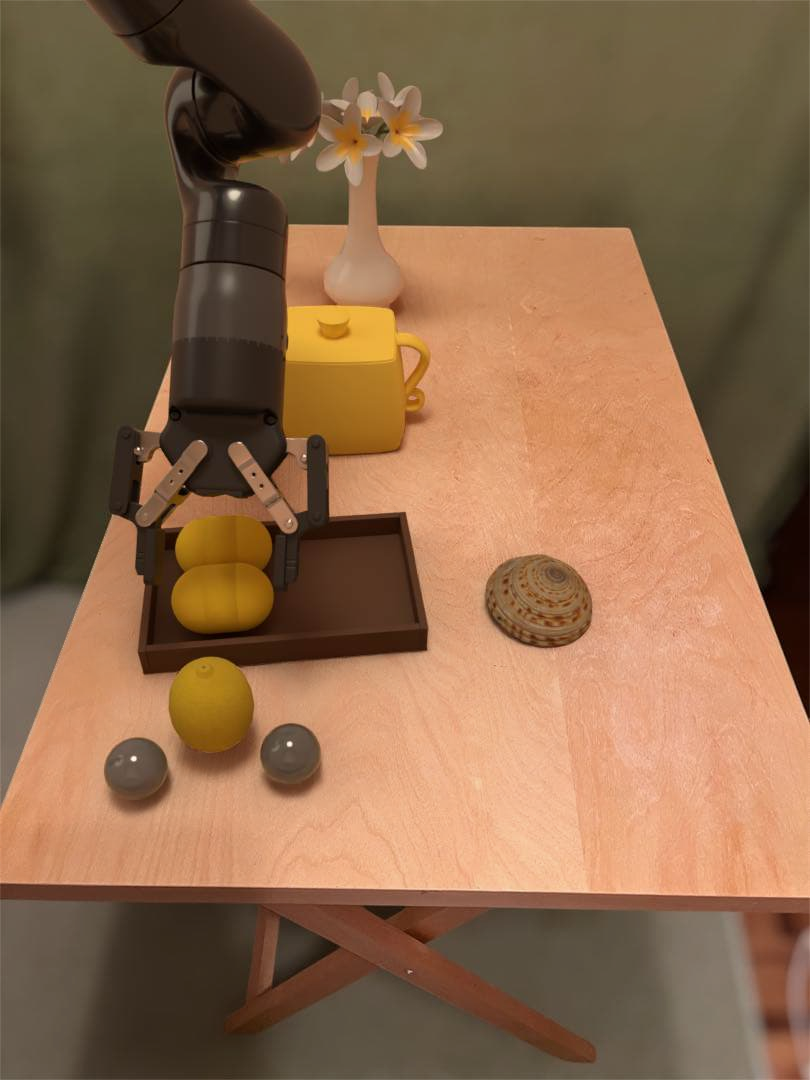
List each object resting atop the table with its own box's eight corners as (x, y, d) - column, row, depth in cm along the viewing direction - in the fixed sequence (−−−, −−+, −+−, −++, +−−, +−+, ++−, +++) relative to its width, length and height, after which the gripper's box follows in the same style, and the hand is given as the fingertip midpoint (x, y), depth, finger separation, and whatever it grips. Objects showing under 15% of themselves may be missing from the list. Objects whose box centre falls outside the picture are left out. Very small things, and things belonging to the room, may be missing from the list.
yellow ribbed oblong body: (175, 651, 68) (164, 604, 65) (178, 600, 72) (168, 553, 69) (277, 642, 69) (271, 595, 66) (275, 593, 73) (270, 546, 69)
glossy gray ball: (107, 815, 59) (94, 781, 56) (113, 762, 62) (101, 727, 59) (170, 808, 60) (160, 775, 57) (173, 756, 62) (164, 722, 60)
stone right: (263, 799, 60) (257, 765, 57) (262, 748, 63) (257, 713, 60) (323, 793, 61) (321, 759, 58) (320, 742, 63) (317, 708, 61)
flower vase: (297, 273, 113) (283, 53, 96) (443, 291, 111) (456, 68, 94) (265, 325, 104) (243, 92, 87) (423, 346, 102) (433, 110, 85)
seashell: (540, 532, 76) (606, 557, 70) (548, 591, 79) (613, 621, 72) (460, 568, 73) (523, 598, 66) (472, 629, 75) (533, 664, 69)
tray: (143, 674, 67) (137, 651, 66) (155, 551, 77) (150, 528, 75) (427, 650, 70) (428, 628, 68) (404, 533, 79) (405, 511, 77)
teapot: (219, 458, 86) (203, 349, 78) (233, 384, 95) (220, 280, 87) (430, 458, 87) (436, 350, 79) (424, 385, 96) (429, 282, 88)
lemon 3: (262, 708, 65) (252, 634, 60) (253, 775, 61) (242, 703, 56) (185, 707, 65) (168, 633, 60) (171, 774, 61) (151, 702, 56)
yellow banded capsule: (178, 597, 72) (168, 550, 69) (181, 552, 76) (172, 505, 72) (275, 590, 73) (270, 543, 70) (273, 545, 77) (268, 499, 73)
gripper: (105, 327, 57) (90, 584, 57) (330, 336, 57) (317, 595, 57) (141, 355, 65) (128, 582, 64) (340, 363, 65) (329, 592, 64)
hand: (217, 588), depth 61 cm, fingers open, 8 cm apart
